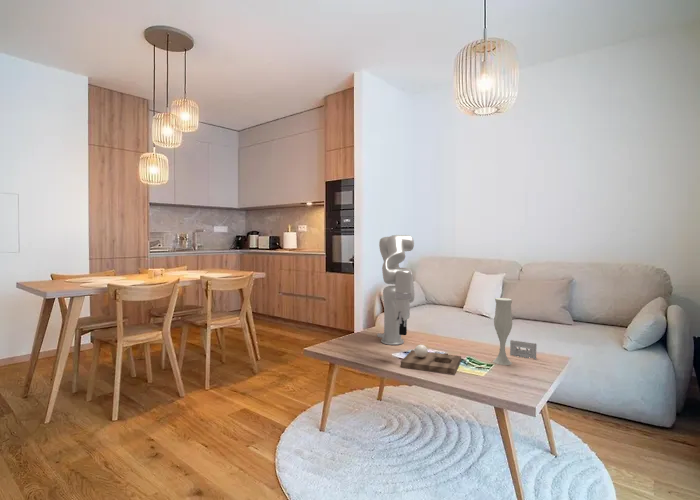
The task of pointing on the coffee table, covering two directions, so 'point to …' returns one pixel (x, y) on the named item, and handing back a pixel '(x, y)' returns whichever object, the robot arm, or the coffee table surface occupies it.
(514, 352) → the cassette
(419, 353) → the ball
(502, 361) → the vase
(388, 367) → the coffee table surface
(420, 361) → the board
